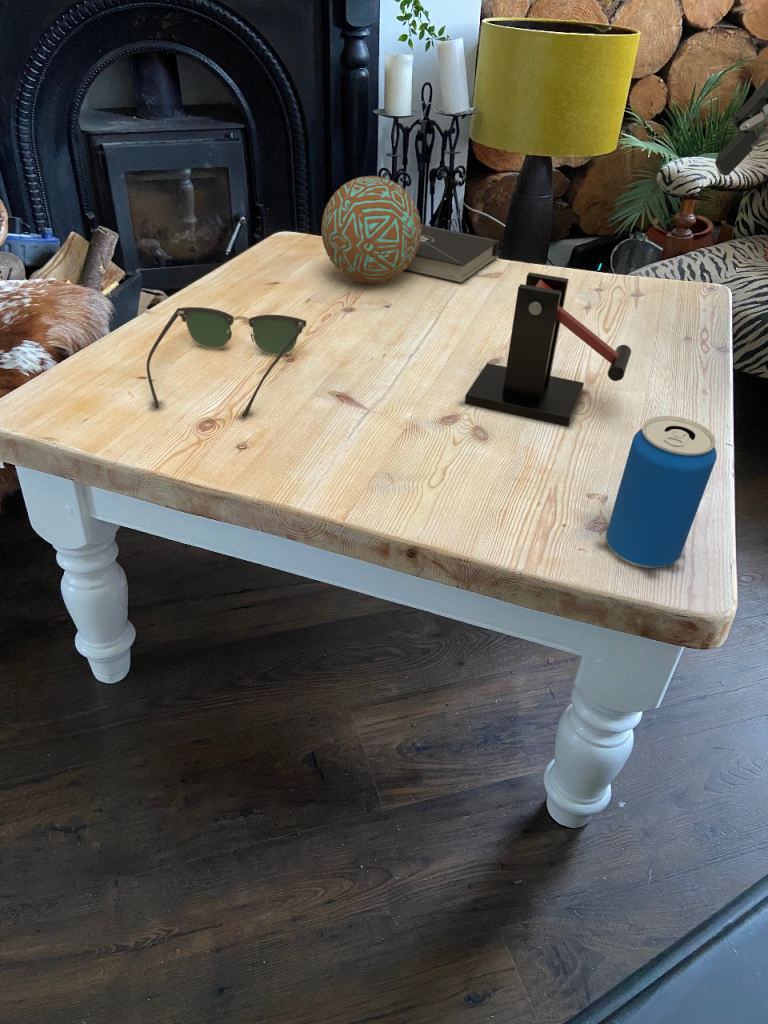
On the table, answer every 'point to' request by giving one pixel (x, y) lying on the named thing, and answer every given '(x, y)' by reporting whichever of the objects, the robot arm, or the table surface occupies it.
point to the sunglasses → (216, 332)
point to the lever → (595, 342)
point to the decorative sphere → (371, 229)
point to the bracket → (530, 360)
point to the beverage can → (661, 490)
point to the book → (452, 254)
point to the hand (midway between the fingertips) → (746, 178)
